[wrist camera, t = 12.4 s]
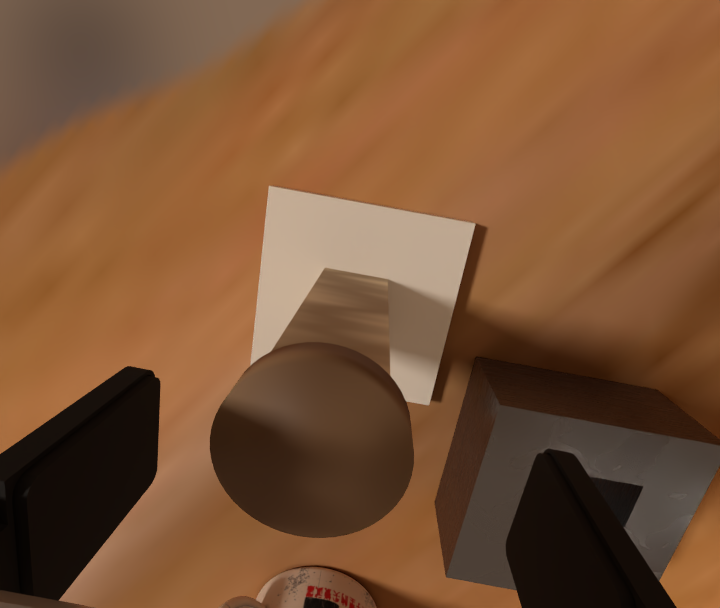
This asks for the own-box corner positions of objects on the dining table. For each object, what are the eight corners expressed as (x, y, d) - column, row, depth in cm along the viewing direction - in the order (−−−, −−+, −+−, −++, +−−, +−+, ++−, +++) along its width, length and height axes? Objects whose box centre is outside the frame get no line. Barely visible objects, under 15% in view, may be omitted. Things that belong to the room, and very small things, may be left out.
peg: (406, 266, 21) (434, 385, 9) (387, 354, 22) (391, 553, 10) (311, 249, 21) (217, 345, 9) (299, 337, 22) (203, 518, 11)
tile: (472, 221, 21) (475, 223, 20) (427, 397, 24) (428, 405, 23) (273, 185, 21) (268, 185, 20) (254, 366, 24) (249, 372, 23)
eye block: (656, 389, 23) (729, 447, 18) (594, 532, 26) (641, 613, 21) (476, 356, 23) (500, 405, 18) (434, 502, 26) (445, 577, 21)
